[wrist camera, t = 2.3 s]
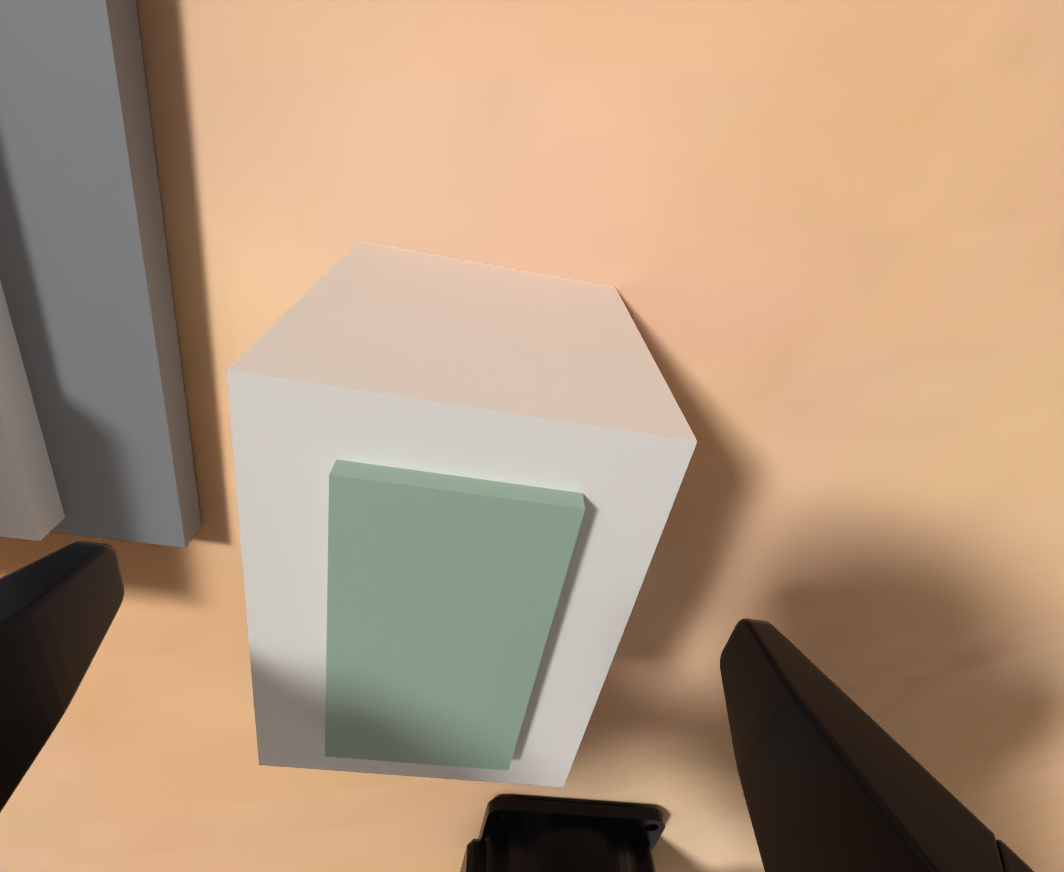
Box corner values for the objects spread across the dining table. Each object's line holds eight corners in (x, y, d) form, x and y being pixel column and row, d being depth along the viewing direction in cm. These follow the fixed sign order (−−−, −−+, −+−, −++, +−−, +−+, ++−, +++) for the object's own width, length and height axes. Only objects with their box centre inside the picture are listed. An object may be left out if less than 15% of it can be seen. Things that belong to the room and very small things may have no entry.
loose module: (614, 286, 12) (705, 455, 6) (545, 549, 15) (565, 805, 10) (360, 239, 11) (213, 382, 6) (349, 524, 14) (251, 784, 9)
